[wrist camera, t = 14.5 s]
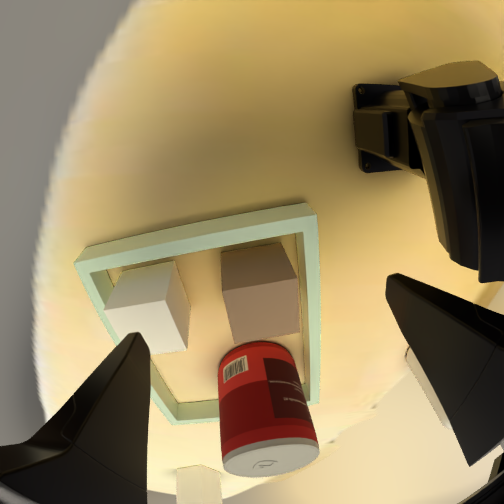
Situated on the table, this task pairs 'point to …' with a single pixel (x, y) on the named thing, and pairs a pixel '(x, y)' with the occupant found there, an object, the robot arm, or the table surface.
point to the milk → (198, 485)
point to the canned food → (263, 413)
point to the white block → (151, 307)
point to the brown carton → (260, 293)
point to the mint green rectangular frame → (203, 238)
